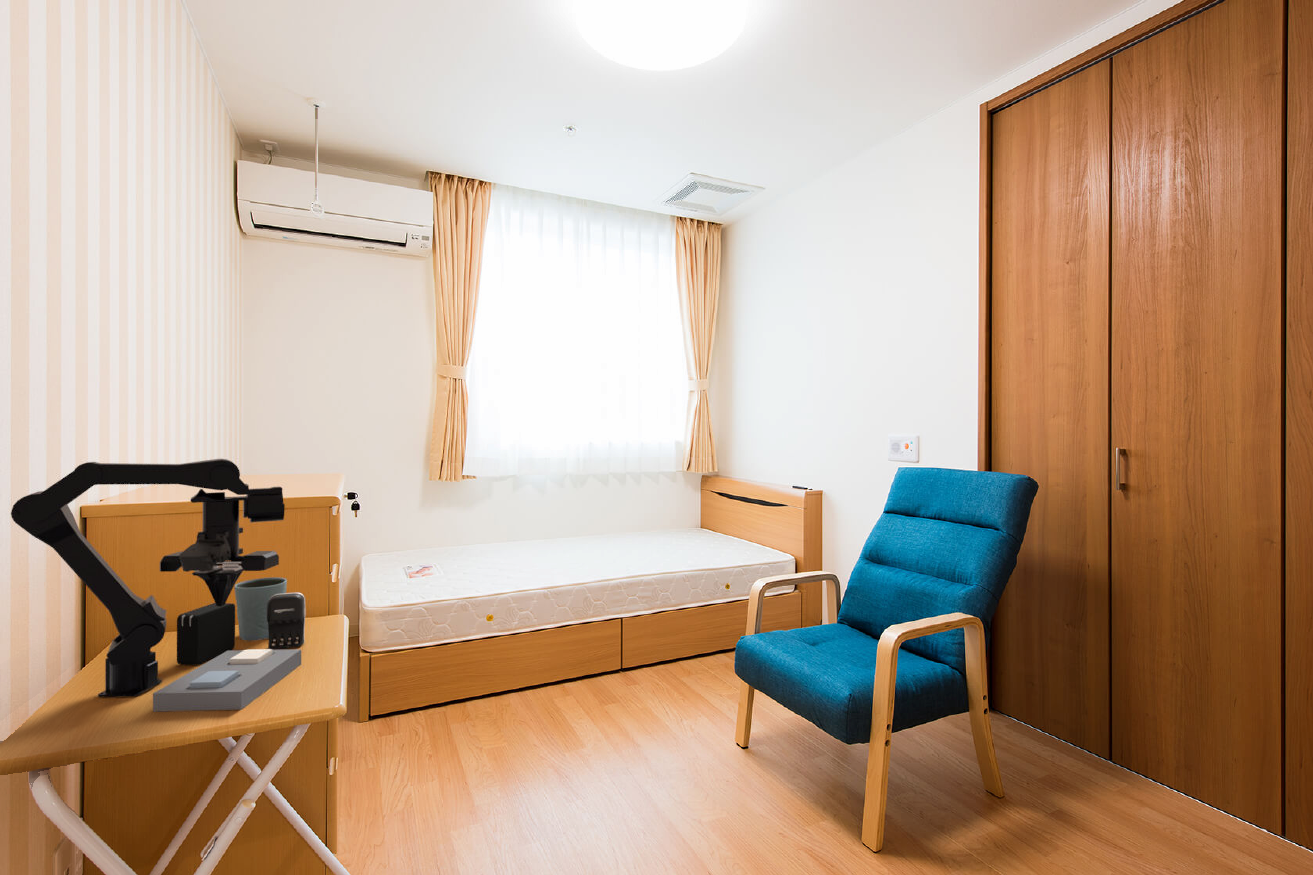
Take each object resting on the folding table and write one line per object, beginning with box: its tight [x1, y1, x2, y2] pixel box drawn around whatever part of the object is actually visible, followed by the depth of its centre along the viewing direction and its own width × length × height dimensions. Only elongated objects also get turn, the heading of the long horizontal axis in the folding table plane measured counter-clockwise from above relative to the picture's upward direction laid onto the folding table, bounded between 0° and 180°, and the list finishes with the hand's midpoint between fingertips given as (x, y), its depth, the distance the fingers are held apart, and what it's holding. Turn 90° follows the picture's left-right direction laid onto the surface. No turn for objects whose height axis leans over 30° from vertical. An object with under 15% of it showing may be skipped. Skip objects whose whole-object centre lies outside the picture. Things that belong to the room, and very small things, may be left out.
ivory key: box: [230, 648, 273, 664], centre depth 117 cm, size 5×5×2 cm
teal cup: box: [233, 576, 288, 642], centre depth 140 cm, size 10×10×12 cm
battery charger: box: [267, 592, 306, 650], centre depth 132 cm, size 7×4×11 cm, turn 111°
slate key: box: [190, 671, 239, 689], centre depth 106 cm, size 5×5×2 cm
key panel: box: [152, 648, 302, 712], centre depth 112 cm, size 14×20×3 cm
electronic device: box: [176, 602, 236, 666], centre depth 126 cm, size 4×10×10 cm, turn 174°
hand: (220, 605), depth 117 cm, fingers closed
